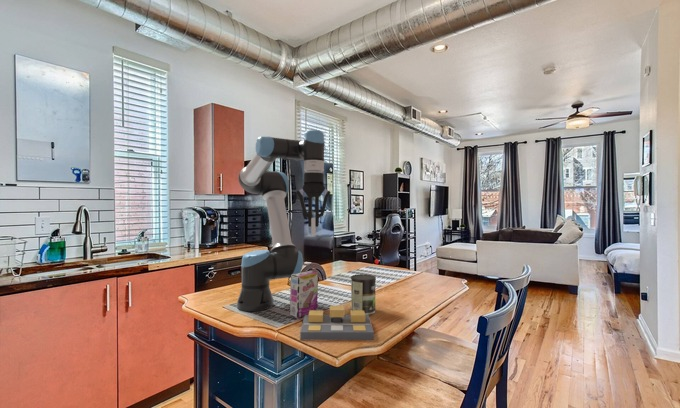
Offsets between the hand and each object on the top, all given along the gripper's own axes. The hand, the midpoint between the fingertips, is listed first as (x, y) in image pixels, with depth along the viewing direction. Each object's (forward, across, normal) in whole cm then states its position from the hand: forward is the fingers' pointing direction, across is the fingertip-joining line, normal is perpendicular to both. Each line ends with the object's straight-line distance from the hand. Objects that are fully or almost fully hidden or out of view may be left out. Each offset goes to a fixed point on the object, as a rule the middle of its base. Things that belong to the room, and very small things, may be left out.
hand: (313, 235), depth 119 cm
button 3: (+32, +16, -6) cm, 36 cm away
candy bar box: (+33, -4, +8) cm, 34 cm away
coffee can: (+33, +20, +12) cm, 40 cm away
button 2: (+30, +9, -6) cm, 32 cm away
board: (+32, +9, -8) cm, 35 cm away
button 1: (+32, +2, -6) cm, 33 cm away
